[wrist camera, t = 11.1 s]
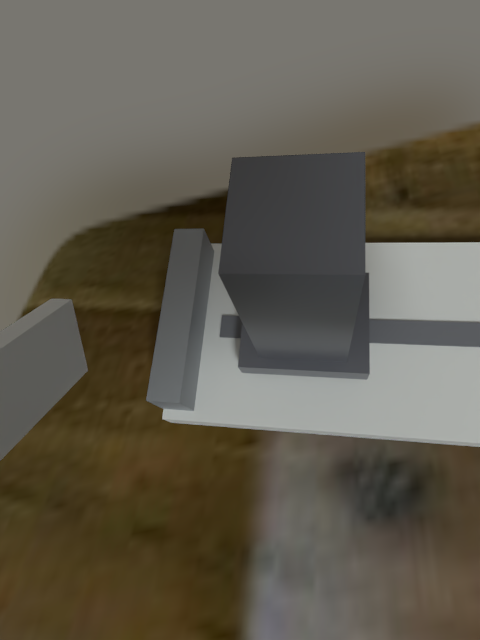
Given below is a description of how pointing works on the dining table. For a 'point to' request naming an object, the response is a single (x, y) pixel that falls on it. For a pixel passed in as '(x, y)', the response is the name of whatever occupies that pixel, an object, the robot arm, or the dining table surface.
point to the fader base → (321, 392)
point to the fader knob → (298, 264)
